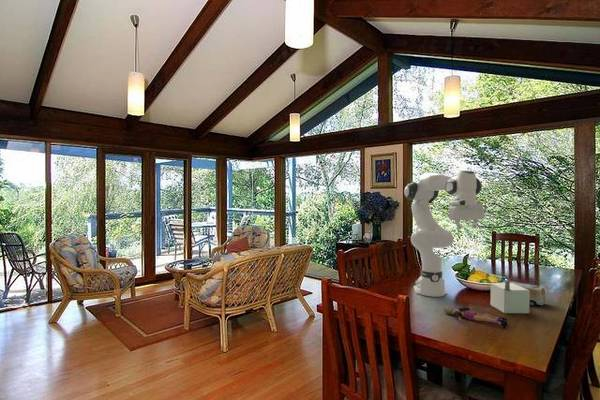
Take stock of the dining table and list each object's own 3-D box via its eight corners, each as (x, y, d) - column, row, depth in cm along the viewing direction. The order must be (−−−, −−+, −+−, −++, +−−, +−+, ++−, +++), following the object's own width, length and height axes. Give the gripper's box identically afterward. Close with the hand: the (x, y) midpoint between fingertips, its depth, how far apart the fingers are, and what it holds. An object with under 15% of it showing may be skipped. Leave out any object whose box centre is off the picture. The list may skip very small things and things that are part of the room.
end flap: (503, 312, 179) (503, 279, 178) (527, 312, 179) (528, 280, 178) (506, 313, 176) (506, 281, 176) (530, 313, 176) (531, 281, 176)
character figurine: (510, 323, 168) (450, 308, 186) (510, 313, 168) (450, 300, 186) (501, 336, 153) (436, 318, 171) (502, 326, 152) (437, 309, 171)
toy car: (497, 294, 211) (498, 278, 211) (546, 304, 193) (547, 286, 193) (491, 298, 204) (492, 281, 204) (542, 308, 186) (542, 289, 186)
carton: (490, 304, 192) (490, 283, 191) (512, 304, 191) (512, 283, 191) (504, 313, 178) (504, 289, 178) (528, 313, 178) (528, 290, 178)
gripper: (477, 201, 186) (477, 227, 186) (446, 201, 179) (446, 228, 179) (487, 201, 180) (487, 228, 180) (455, 202, 173) (455, 229, 173)
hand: (466, 228), depth 180 cm, fingers open, 8 cm apart
